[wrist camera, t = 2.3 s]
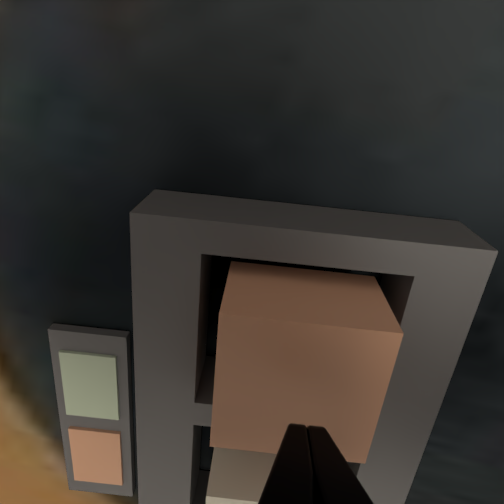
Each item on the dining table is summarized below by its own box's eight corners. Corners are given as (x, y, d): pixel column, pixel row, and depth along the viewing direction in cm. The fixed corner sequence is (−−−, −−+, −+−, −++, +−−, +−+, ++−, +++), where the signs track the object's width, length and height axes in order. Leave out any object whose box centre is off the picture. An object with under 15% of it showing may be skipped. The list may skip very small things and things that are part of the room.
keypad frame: (342, 584, 21) (351, 645, 19) (156, 563, 21) (142, 621, 19) (458, 221, 13) (498, 251, 11) (154, 189, 13) (129, 212, 11)
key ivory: (317, 509, 17) (326, 595, 14) (212, 497, 17) (200, 580, 14) (336, 431, 15) (351, 512, 12) (218, 418, 15) (206, 496, 12)
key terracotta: (347, 387, 14) (365, 463, 11) (222, 374, 14) (209, 446, 11) (374, 276, 12) (403, 334, 9) (231, 261, 12) (218, 313, 9)
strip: (135, 488, 19) (131, 499, 18) (73, 481, 19) (67, 492, 18) (129, 331, 15) (124, 339, 15) (52, 323, 15) (45, 331, 15)
